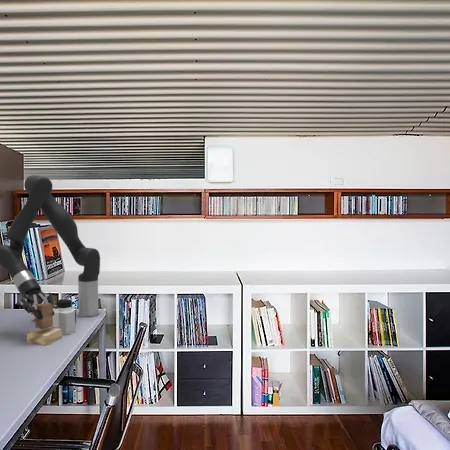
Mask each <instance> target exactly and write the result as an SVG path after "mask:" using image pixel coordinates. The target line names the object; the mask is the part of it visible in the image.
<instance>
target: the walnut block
mask: <svg viewBox="0 0 450 450" xmlns="http://www.w3.org/2000/svg"><path fill="white" fill-rule="evenodd" d="M37 307H38V310H40V312H41V313H42V315H43V319H42V320H39V319H37V317H36V316H34V323H35V324H34V327H35V329H39V328H40V329H45V328H52V327H53V315H52V313H53V311H54V309H53V305H52V304H50V303H43V302H42V303H41V304H38V305H37Z"/></svg>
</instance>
